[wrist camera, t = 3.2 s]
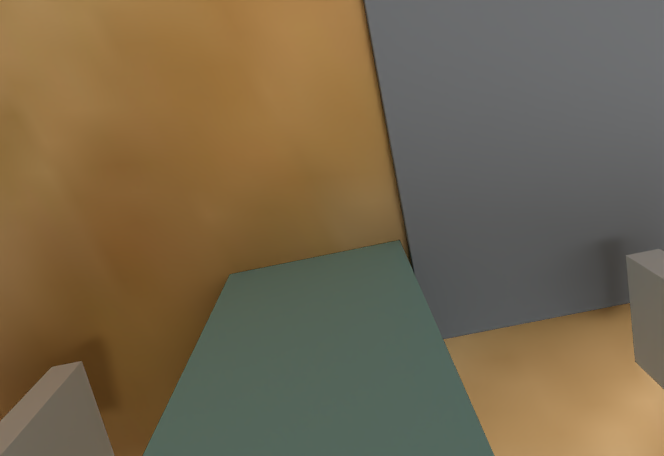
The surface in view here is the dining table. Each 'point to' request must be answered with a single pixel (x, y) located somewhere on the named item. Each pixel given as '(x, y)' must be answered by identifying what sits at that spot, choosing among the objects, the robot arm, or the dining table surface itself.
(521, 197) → the mat
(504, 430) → the dining table surface
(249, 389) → the block
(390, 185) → the dining table surface
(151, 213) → the dining table surface
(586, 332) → the dining table surface
